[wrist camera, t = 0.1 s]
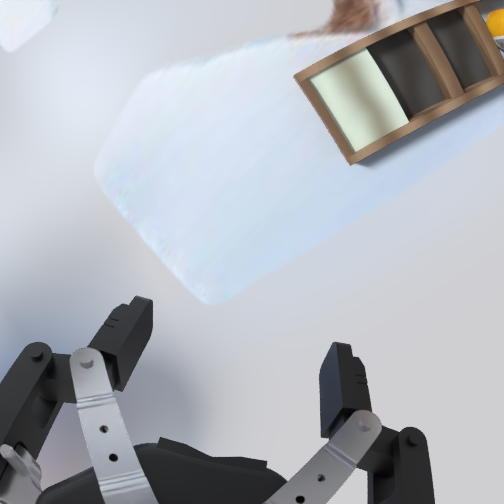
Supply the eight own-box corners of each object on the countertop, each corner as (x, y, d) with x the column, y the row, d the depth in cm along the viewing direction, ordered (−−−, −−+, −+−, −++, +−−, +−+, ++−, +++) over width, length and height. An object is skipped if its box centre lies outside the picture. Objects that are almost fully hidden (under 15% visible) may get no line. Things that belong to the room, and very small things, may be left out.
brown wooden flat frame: (346, 160, 38) (350, 165, 35) (293, 77, 34) (293, 75, 31) (535, 61, 25) (547, 61, 23) (498, -12, 22) (509, -16, 19)
